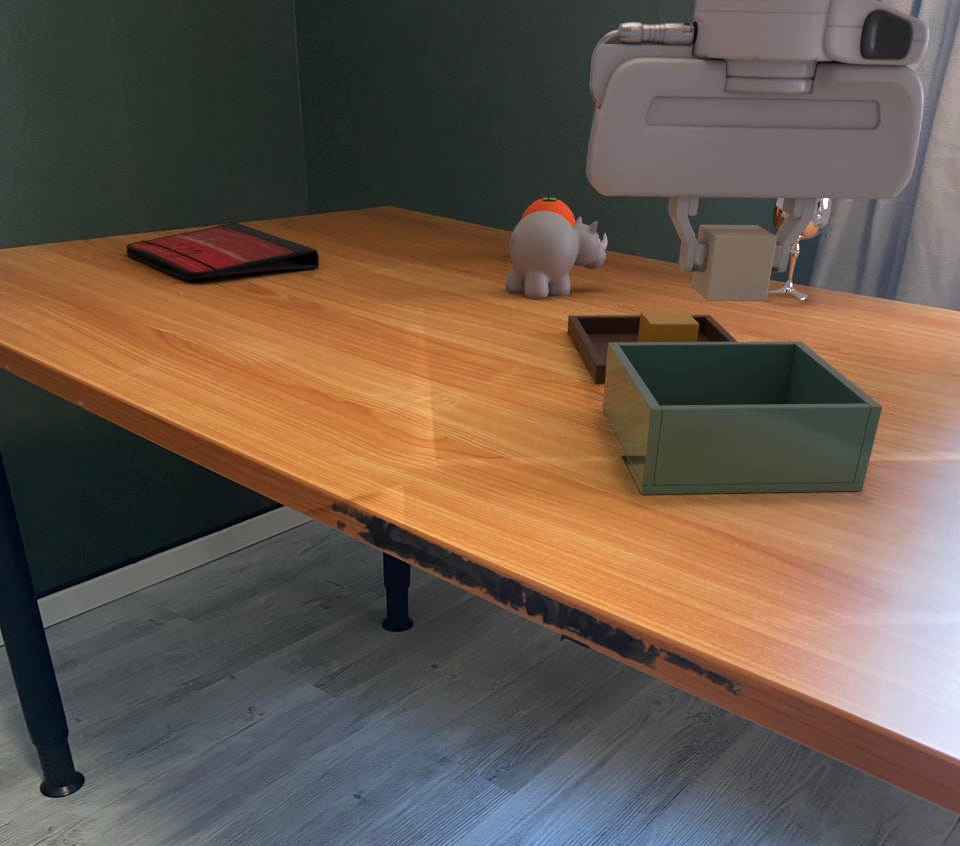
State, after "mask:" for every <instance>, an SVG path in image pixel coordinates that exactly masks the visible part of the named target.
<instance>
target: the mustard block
mask: <svg viewBox="0 0 960 846" xmlns="http://www.w3.org/2000/svg"><path fill="white" fill-rule="evenodd" d="M639 315H640V325H639V335H638V342H697V336H698V329H699V323H698V322H697V321H696V320H695V319H694V318H693V317H692V316H691V315H692V314H690V313H689V312H688V311H684V310H683V311H640V314H639Z"/></svg>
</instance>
